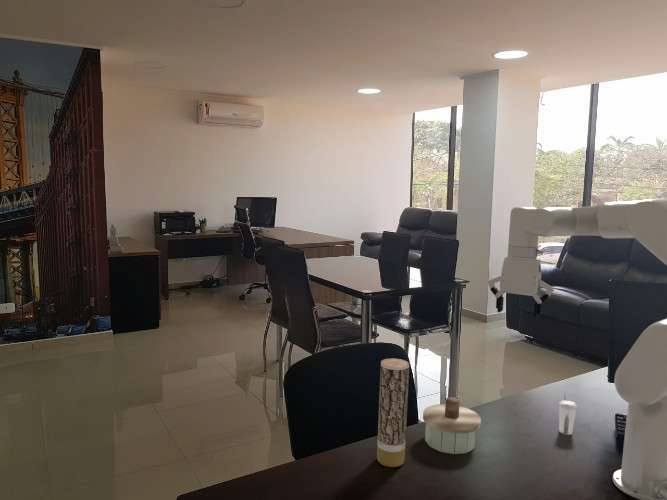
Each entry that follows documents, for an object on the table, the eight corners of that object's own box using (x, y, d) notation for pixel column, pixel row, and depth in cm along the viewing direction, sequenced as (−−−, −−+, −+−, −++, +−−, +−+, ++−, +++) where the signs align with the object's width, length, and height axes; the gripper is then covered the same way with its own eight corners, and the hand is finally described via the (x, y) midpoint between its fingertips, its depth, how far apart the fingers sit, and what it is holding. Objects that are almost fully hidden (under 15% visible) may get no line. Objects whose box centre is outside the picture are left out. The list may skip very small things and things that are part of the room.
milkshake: (570, 428, 150) (573, 394, 149) (576, 437, 145) (579, 402, 144) (553, 427, 151) (556, 393, 149) (559, 435, 145) (562, 401, 144)
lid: (491, 430, 134) (493, 409, 133) (437, 435, 130) (439, 414, 130) (463, 406, 148) (464, 387, 148) (414, 410, 145) (415, 391, 144)
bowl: (483, 451, 135) (485, 429, 135) (437, 455, 132) (438, 433, 132) (461, 428, 148) (462, 408, 147) (418, 432, 145) (419, 411, 144)
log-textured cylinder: (382, 470, 125) (386, 368, 122) (372, 455, 132) (376, 359, 128) (408, 466, 127) (413, 366, 124) (398, 452, 133) (402, 357, 130)
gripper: (558, 254, 141) (553, 316, 143) (494, 248, 150) (490, 307, 152) (553, 257, 135) (548, 322, 137) (486, 250, 144) (482, 312, 146)
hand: (517, 314), depth 144 cm, fingers open, 9 cm apart
